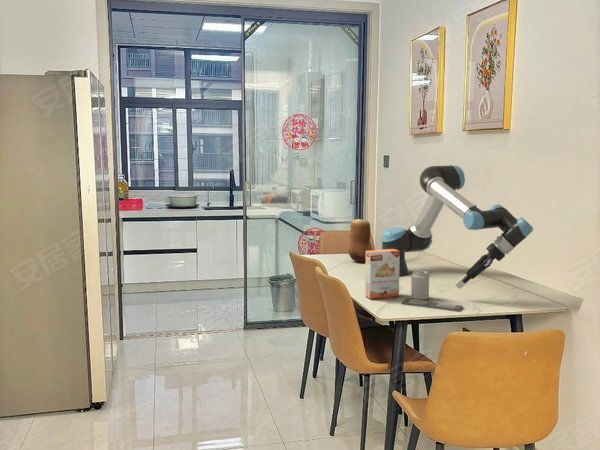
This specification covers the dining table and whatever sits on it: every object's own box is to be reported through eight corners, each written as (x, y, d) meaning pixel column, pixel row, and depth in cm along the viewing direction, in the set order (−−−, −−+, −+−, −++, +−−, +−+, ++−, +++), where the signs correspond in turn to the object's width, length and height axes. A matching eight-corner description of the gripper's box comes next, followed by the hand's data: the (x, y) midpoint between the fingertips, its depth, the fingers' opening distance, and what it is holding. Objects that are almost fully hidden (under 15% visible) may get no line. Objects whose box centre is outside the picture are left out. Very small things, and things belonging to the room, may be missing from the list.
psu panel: (406, 300, 239) (407, 298, 239) (463, 307, 226) (463, 305, 226) (401, 303, 234) (401, 301, 234) (458, 311, 221) (458, 309, 221)
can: (431, 298, 242) (432, 271, 240) (424, 302, 236) (424, 274, 234) (416, 295, 247) (416, 269, 245) (408, 299, 241) (408, 272, 239)
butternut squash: (372, 259, 327) (372, 217, 324) (373, 264, 314) (372, 220, 311) (348, 259, 329) (348, 217, 325) (348, 264, 316) (347, 220, 312)
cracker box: (370, 300, 241) (370, 252, 238) (365, 296, 247) (364, 250, 244) (400, 297, 245) (400, 250, 242) (393, 293, 251) (393, 248, 248)
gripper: (491, 239, 238) (450, 276, 244) (494, 244, 225) (451, 283, 231) (503, 252, 237) (462, 289, 243) (508, 258, 225) (464, 296, 231)
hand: (457, 286), depth 237 cm, fingers closed
